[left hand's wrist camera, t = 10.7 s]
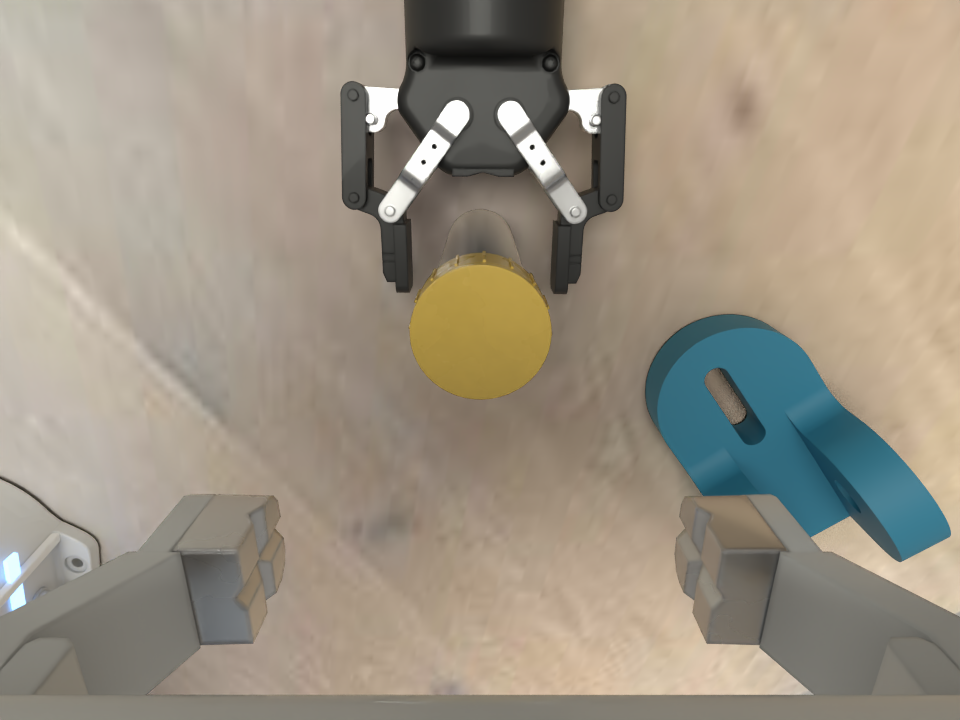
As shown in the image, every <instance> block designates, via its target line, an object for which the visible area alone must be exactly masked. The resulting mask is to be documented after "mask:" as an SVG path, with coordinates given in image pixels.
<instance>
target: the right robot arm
mask: <svg viewBox="0 0 960 720" xmlns="http://www.w3.org/2000/svg"><path fill="white" fill-rule="evenodd" d="M404 10H405V39H406V72H405V76H404V79H403V82H402V84H401V86H400V88H399V89H390V88H377V87H367V86H364V85H362V84H360V83H358V82H355V81H350V82H347V83H346V84H344V86H343V87H342V89H341V153H342V199H343V202H344V204H345V205H346V206H347V207H348V208H350V209H353V210H360V211H363V212H365V213H368V214H371V215H373V216H374V217H375V218H376V219H377V220H378V221H379V223H380V226H381V241H382V260H383V273H384V276H385V278H386V280H387V282H396V292H397V293H410V291H411V288H412V285H413V269H412V241H411V219H407V216H406V211H407V209H408V208H409V207H410V205H411V204H412V202H413V201H414V200H415V198H416V197H417V195H418V194H419V192H420V191H421V190H422V188H423V187H424V186H425V184H426V183H427V182H428V180H429V179H430V177H431V176H432V174H433V173H434V172H435V170H436V169H437V167H439V168H440V169H441V170H442V171H444V172H446V173H448V174H451V175H452V176H471V175H475V174H478V173H482V172H484V173H488V174H491V175H495V176H498V177H514V175H516V174H519V173H521V172H523V171H524V170H525V169H527V168H528V169H529V170H530V172H531V173H532V174H533V176H534V177H535V179H536V180H537V182H538V183H539V184H540V186H541V187H542V188H543V190H544V191H545V193H546V194H547V196H548V197H549V199H550V200H551V202H552V203H553V204H554V206H555V207H556V209H557V210H558V220H557V221H553V236H552V257H551V277H550V285H551V289H552V292H553V294H567V290H568V283H577V281H578V278H579V276H580V273H581V258H582V257H581V256H582V243H583V229H584V226H585V224H586V222H587V221H588V220H589V219H590V218H592V217H594V216H596V215H599V214H602V213H605V212H613V211H616V210H618V209H619V208H620V207H621V205H622V203H623V196H624V162H625V128H626V91H625V89H624V88H623V87H622V86H621V85H619V84H609V85H606V86H604V87H602V88H596V89H579V90H568V89H567V87H566V85H565V82H564V79H563V76H562V71H561V56H562V35H563V15H564V0H404ZM395 110H399V112H400V114H401V116H402V117H403V118H404V120H405V121H406V123H407V124H408V126H409V127H410V128H411V130H412V131H413V133H414V134H415V135H416V137H417V138H418V140H419V141H420V143H421V144H420V145H419V147H418V148H417V150H416V151H415V153H414V154H413V156H412V157H411V159H410V160H409V161H408V163H407V164H406V166H405V167H404V169H403V170H402V172H401V173H400V175H399V177H398V179H397V180H396V182H395V183H394V184H393V186H392V187H391V189H390V190H389V192H386V191H384V190H381V189H378V188H376V187H374V132H380V131H382V130H383V129H384V128H385V127H386V125H387V120H388V117H389V115H390V114H391V113H392V112H393V111H395ZM568 111H571V112H573V113H575V114H576V116H577V117H578V120H579V125H580V128H581V129H582V130H583V131H584V132H585V133H589V134H592V179H591V189H589V190H586V191H583V192H580V193H577V192H576V190H575V189H574V187H573V186H572V184H571V183H570V181H569V180H568V178H567V176H566V174H565V172H564V171H563V169H562V168H561V166H560V165H559V163H558V162H557V160H556V159H555V157H554V156H553V154H552V153H551V151H550V150H549V148H548V147H547V145H546V142H547V141H548V140H549V138H550V137H551V136H552V134H553V133H554V131H555V130H556V129H557V127H558V126H559V124H560V123H561V122H562V120H563V119H564V118H565V116H566V114H567V112H568Z"/></svg>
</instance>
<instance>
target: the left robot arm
mask: <svg viewBox="0 0 960 720" xmlns="http://www.w3.org/2000/svg"><path fill="white" fill-rule="evenodd" d="M280 517H281V516H280V510H279V505H278V500H277V499H276V498H275V497H274V496H269V495H221V494H219V495H215V494H191V495H187V496H184V497H183V498H182V499H181V500H180V501H179V503H178V504H177V505H176V506H175V507H174V509H173V510H172V511H171V512H170V513H169V515H168V516H167V517H166V518H165V519H164V521H163V522H162V523H161V524H160V525H159V527H158V528H157V529H156V530H155V531H154V533H153V534H152V535H151V536H150V537H149V539H148V540H147V541H146V542H145V543H144V545H143V546H142V547H141V548H140V549H139V551H138V552H127V553H125V554H123V555H121V556H119V557H117V558H115V559H113V560H111V561H109V562H107V563H105V564H103V565H101V566H100V560H99V546H98V543H97V541H96V540H95V539H94V538H93V537H92V536H91V535H89V534H88V533H86V532H84V531H82V530H80V529H78V528H76V527H74V526H72V525H70V524H67V523H65V522H63V521H61V520H59V519H58V518H57V517H55V516H54V515H53V514H51V513H50V512H49V511H48V510H47V509H46V508H45V507H44V506H42V505H41V504H40V503H39V502H38V501H37V500H35V499H34V498H33V497H31V496H30V495H29V494H27V493H26V492H24V491H22V490H21V489H19V488H17V487H16V486H14V485H12V484H10V483H8V482H6V481H4V480H1V479H0V720H960V617H959V616H957V615H955V614H953V613H951V612H949V611H947V610H945V609H943V608H941V607H939V606H937V605H935V604H933V603H931V602H929V601H927V600H926V599H924V598H922V597H920V596H918V595H916V594H914V593H912V592H910V591H908V590H906V589H904V588H902V587H900V586H898V585H896V584H894V583H892V582H890V581H888V580H886V579H884V578H882V577H880V576H878V575H876V574H874V573H872V572H870V571H868V570H866V569H865V568H863V567H861V566H859V565H857V564H855V563H853V562H851V561H849V560H847V559H845V558H843V557H841V556H839V555H837V554H835V553H833V552H822V551H821V549H820V548H819V547H818V546H817V545H816V543H815V542H814V541H813V540H812V539H811V537H810V536H809V535H808V534H807V533H806V532H805V530H804V529H803V528H802V527H801V526H800V524H799V523H798V522H797V521H796V520H795V518H794V517H793V516H792V515H791V514H790V512H789V511H788V510H787V509H786V508H785V506H784V505H783V504H782V503H781V502H780V500H779V499H778V498H777V497H776V496H773V495H771V494H753V495H731V496H685V497H684V499H683V501H682V504H681V509H680V516H679V517H680V519H681V521H682V523H683V525H684V527H685V529H684V530H683V532H682V533H681V534H680V535H679V536H678V537H677V538H676V546H675V564H676V572H677V576H678V580H679V583H680V585H681V588H682V590H683V592H684V593H685V594H686V595H688V596H689V597H690V598H692V599H693V600H694V605H693V615H694V617H695V619H696V621H697V623H698V626H699V628H700V630H701V632H702V634H703V636H704V639H705V641H706V643H707V644H740V645H760V647H759V648H761V649H762V650H763V651H764V652H765V653H766V654H768V655H769V656H770V657H771V658H772V659H773V660H775V661H776V662H777V663H778V664H779V665H780V666H781V667H783V668H784V669H785V670H786V671H787V672H788V673H790V674H791V675H792V676H793V677H794V678H795V679H797V680H798V681H799V682H800V683H801V684H802V685H803V686H805V687H806V688H807V689H808V690H809V691H810V692H812V693H813V694H814V695H146V694H147V693H149V692H150V691H151V690H152V689H153V688H154V687H156V686H157V685H158V684H159V683H160V682H161V681H163V680H164V679H165V678H166V677H167V676H168V675H170V674H171V673H172V672H173V671H174V670H175V669H176V668H178V667H179V666H180V665H181V664H182V663H183V662H185V661H186V660H187V659H188V658H189V657H190V656H192V655H193V654H194V653H195V652H196V651H197V650H199V649H200V645H219V644H253V643H254V641H255V639H256V637H257V634H258V632H259V630H260V628H261V626H262V623H263V621H264V619H265V617H266V615H267V605H266V600H267V599H268V598H270V597H271V596H272V595H274V594H275V593H276V592H277V590H278V588H279V585H280V583H281V580H282V576H283V571H284V566H285V545H284V538H283V537H282V536H281V535H280V534H279V533H278V532H277V530H276V529H275V527H276V525H277V523H278V521H279V519H280Z"/></svg>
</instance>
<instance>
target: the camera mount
mask: <svg viewBox="0 0 960 720" xmlns="http://www.w3.org/2000/svg"><path fill="white" fill-rule="evenodd" d="M714 368H720V370H721V372H722V373H723V375H724V376H725V378H726V379H727V381H728V382H729V384H730V385H731V387H732V388H733V390H734V391H735V393H736V394H737V396H738V398H739V399H740V401H741V402H742V404H743V405H744V407H745V408H746V410H747V416H746V419H745V420H744V421H743V422H742V423H740V424H738V425H731V423H730V422H729V420H728V419H727V417H726V416H725V414H724V413H723V411H722V410H721V408H720V407H719V405H718V404H717V402H716V401H715V399H714V398H713V396H712V395H711V393H710V392H709V390H708V389H707V387H706V386H705V383H704V379H705V376H706V374H707V373H708V372H709V371H710V370H712V369H714ZM646 403H647V408H648V411H649V414H650V416H651V418H652V420H653V422H654V424H655V425H656V427H657V429H658V430H659V432H660V433H661V435H662V437H663V438H664V440H665V442H666V443H667V445H668V446H669V448H670V449H671V450H672V452H673V453H674V455H675V456H676V457H677V459H678V460H679V462H680V463H681V464H682V466H683V467H684V468H685V470H686V471H687V473H688V474H689V476H690V477H691V478H692V480H693V481H694V483H695V484H696V486H697V487H698V489H699V490H700V492H701V493H702V495H703V496H731V495H753V494H771V495H773V496H776V497H777V498H778V499H779V500H780V502H781V503H782V504H783V505H784V506H785V508H786V509H787V510H788V511H789V512H790V514H791V515H792V516H793V517H794V518H795V520H796V521H797V522H798V523H799V524H800V526H801V527H802V528H803V529H804V530H805V532H806V533H807V534H808V535H809V536H810V537H812V536H814V535H816V534H817V533H819V532H821V531H823V530H825V529H827V528H829V527H830V526H832V525H834V524H836V523H838V522H840V521H841V520H843V519H845V518H847V517H849V516H851V517H852V518H853V519H854V520H855V521H856V522H857V523H858V524H859V525H860V526H861V527H862V529H863V530H864V531H865V532H866V533H867V534H868V535H869V536H870V537H871V538H872V539H873V540H874V541H875V542H876V543H877V544H878V545H879V546H880V547H881V548H882V549H883V550H884V551H885V552H886V553H887V554H889V555H890V556H891V557H892V558H894V559H895V560H896V561H898V562H902V561H904V560H906V559H908V558H910V557H912V556H913V555H915V554H917V553H919V552H921V551H923V550H925V549H927V548H929V547H931V546H933V545H935V544H937V543H939V542H941V541H943V540H945V539H946V538H948V537H950V536H951V531H950V527H949V525H948V522H947V520H946V518H945V516H944V515H943V513H942V511H941V510H940V508H939V506H938V505H937V503H936V502H935V500H934V499H933V497H932V496H931V495H930V493H929V492H928V490H927V489H926V488H925V486H924V485H923V484H922V483H921V481H920V480H919V479H918V478H917V476H916V475H915V474H914V473H913V471H912V470H911V469H910V468H909V467H908V466H907V464H906V463H905V462H904V461H903V460H902V459H901V458H900V457H899V456H898V454H897V453H896V452H895V451H894V450H893V449H892V448H891V447H890V446H889V445H888V444H887V443H886V442H885V441H884V440H883V439H882V438H881V437H880V436H879V435H878V434H876V433H875V432H874V431H873V430H872V429H871V428H870V427H868V426H867V425H866V424H865V423H863V422H862V421H861V420H859V419H858V418H857V417H855V416H854V415H853V414H851V413H850V412H849V411H847V410H846V409H845V408H844V407H843V406H842V405H841V404H840V403H839V402H838V401H837V400H836V399H835V398H834V396H833V395H832V394H831V393H830V391H829V390H828V389H827V387H826V385H825V384H824V382H823V380H822V379H821V377H820V375H819V374H818V372H817V370H816V369H815V367H814V365H813V364H812V362H811V360H810V359H809V357H808V356H807V354H806V353H805V352H804V351H803V349H802V348H801V347H800V346H798V345H797V344H796V343H795V342H793V341H792V340H791V339H789V338H788V337H786V336H784V335H783V334H781V333H780V332H778V331H777V330H775V329H774V328H772V327H771V326H769V325H768V324H766V323H764V322H762V321H760V320H758V319H755V318H752V317H748V316H743V315H717V316H712V317H708V318H704V319H701V320H698V321H696V322H694V323H691V324H689V325H688V326H686V327H684V328H682V329H681V330H680V331H678V332H677V333H676V334H674V335H673V336H672V337H671V338H670V339H669V340H668V341H667V342H666V343H665V344H664V346H663V347H662V348H661V349H660V351H659V352H658V354H657V355H656V357H655V359H654V361H653V363H652V365H651V367H650V370H649V373H648V377H647V381H646Z"/></svg>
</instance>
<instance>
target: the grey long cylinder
mask: <svg viewBox="0 0 960 720" xmlns="http://www.w3.org/2000/svg"><path fill="white" fill-rule="evenodd" d="M483 251H486V253H490V254H496V255H499V256H502V257H506V258H509V257H510V258H512V261H514V262H515V263H517V264H518V265H520V266H521V267H522V268H523V266H522V263H521V260H520V257H519V254H518V251H517V248H516V245H515V242H514V239H513V236H512V233H511V230H510V227H509V225H508V224H507V222H506V221H505V220H504V219H503V218H502V217H501V216H499V215H498V214H496V213H494V212H492V211H489V210H485V209H476V210H471V211H469V212H466V213H464V214H463V215H461V216H460V217H459V218H458V219H457V220H456V221H455V222H454V224H453V225H452V227H451V229H450V232H449V235H448V238H447V241H446V244H445V247H444V250H443V254H442V257H441V260H440V263H439V266H438V268H439V267H440V266H441V265H443V264H444V263H446V262H448V261H449V260H451V259H453V258H456V255H459V256H462V255H466V254H470V253H483Z"/></svg>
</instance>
